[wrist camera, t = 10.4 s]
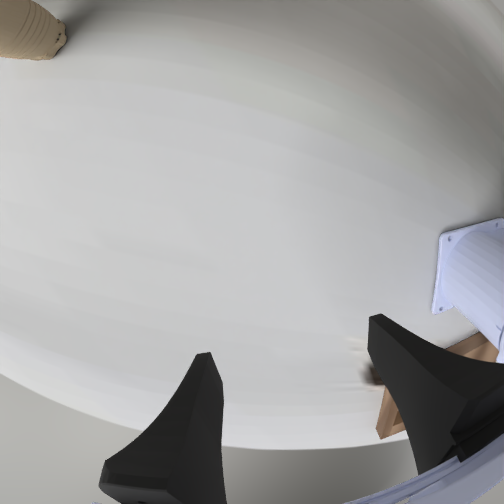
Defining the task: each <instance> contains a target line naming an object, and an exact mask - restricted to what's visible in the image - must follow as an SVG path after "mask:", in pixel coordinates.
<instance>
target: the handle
mask: <svg viewBox="0 0 504 504" xmlns="http://www.w3.org/2000/svg"><path fill="white" fill-rule="evenodd" d="M65 28H66V26H65V25H64V24H63V23H62V22H61V21H60V20H59V19H57V20H56V18H55V17H54V16H53V15H52V14H51V13H50V12H48V11H47V10H46V9H45V8H43V7H42V6H40V5H39V4H37V3H35V2H34V1H31V0H0V57H5V58H13V59H30V60H42V59H45V60H50V59H51V58H53V57H54V56H55V54H56V52H57V51H58V50H59V49H60V47H62V46H63V45H64V44H65V42H66V39H67V37H66V36H65Z"/></svg>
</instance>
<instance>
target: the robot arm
mask: <svg viewBox="0 0 504 504" xmlns="http://www.w3.org/2000/svg"><path fill="white" fill-rule="evenodd" d="M449 236H450V237H449ZM448 237H449V239H448ZM453 307H456V308H457V309H458V310H459V311H460V312H461V313H462V314H463V315H464V316H465V317H466V318H467V319H468V320H469V321H470V322H471V323H472V324H473V325H474V326H475V327H476V328H477V329H478V330H479V331H480V332H481V333H482V334H483V335H484V336H485V337H486V338H487V339H488V340H489V341H490V342H491V343H492V344H493V345H494V346H495V347H496V348H497V349H498V350H499V354H498V356H497V358H496V361H497V362H498V363H495V362H487V361H482V360H477V359H472V358H468V357H465V356H462V355H459V354H456V353H453V352H450V351H448V350H445V349H443V348H440V347H438V346H436V345H434V344H432V343H430V342H428V341H426V340H424V339H422V338H420V337H419V336H417V335H415V334H413V333H412V332H410V331H408V330H407V329H405V328H403V327H402V326H400V325H399V324H397V323H396V322H394V321H392V320H391V319H389V318H388V317H386V316H385V315H383V314H377V315H374V316H371V317H369V332H368V349H367V350H368V352H369V355H370V357H371V360H372V362H373V364H374V367H375V369H376V370H377V372H378V374H379V376H380V377H381V379H382V381H383V383H384V384H385V386H386V388H387V389H388V391H389V393H390V395H391V396H392V398H393V400H394V402H395V404H396V406H397V408H398V410H399V413H400V415H401V418H402V420H403V423H404V426H405V428H406V431H407V434H408V437H409V440H410V443H411V447H412V450H413V454H414V458H415V461H416V466H417V470H418V475H419V476H417V477H414V478H412V479H410V480H408V481H405V482H403V483H401V484H398V485H396V486H394V487H391V488H388V489H386V490H383V491H381V492H378V493H375V494H372V495H370V496H366V497H364V498H360V499H357V500H354V501H351V502H347V503H344V504H395V503H397V502H399V501H402V500H404V499H406V498H408V497H410V498H409V501H408V502H407V503H404V504H470V503H471V502H473V501H474V500H475V499H477V498H479V497H480V496H481V495H483V494H484V493H486V492H487V491H488V490H490V489H491V488H492V487H494V486H495V485H496V484H497V483H499V482H500V481H501V480H503V479H504V219H503V218H497V219H493V220H490V221H486V222H482V223H479V224H475V225H471V226H467V227H464V228H460V229H456V230H452V231H448V232H445V233H442V234H441V236H440V239H439V252H438V264H437V274H436V283H435V291H434V298H433V304H432V313H433V314H435V315H436V314H439V313H441V312H444V311H446V310H448V309H451V308H453ZM223 407H224V397H223V382H222V380H221V377H220V375H219V372H218V370H217V368H216V365H215V363H214V360H213V358H212V355H211V353H210V352H207V353H201V354H197V355H196V356H195V358H194V360H193V362H192V364H191V366H190V368H189V370H188V371H187V373H186V375H185V377H184V379H183V380H182V382H181V384H180V385H179V387H178V389H177V390H176V392H175V393H174V395H173V396H172V398H171V399H170V401H169V402H168V404H167V405H166V407H165V408H164V409H163V410H162V412H161V413H160V414H159V415H158V417H157V418H156V419H155V420H154V421H153V422H152V423H151V424H150V426H149V427H148V428H147V429H146V430H145V431H144V432H143V433H142V434H141V435H139V437H137V438H136V439H135V440H134V441H133V442H131V443H130V444H129V445H127V446H126V447H125V448H124V449H122V450H121V451H119V452H118V453H116V454H115V455H113V456H112V457H110V458H109V459H107V460H105V463H104V466H103V469H102V473H101V477H100V482H99V488H100V489H101V490H102V491H103V492H104V493H105V494H107V495H108V496H110V497H112V498H113V499H115V500H116V501H118V502H120V503H121V504H227V501H226V494H225V487H224V478H223V467H222V453H221V439H222V423H223ZM413 495H414V496H413ZM411 496H412V497H411ZM92 504H99V503H95V502H92Z"/></svg>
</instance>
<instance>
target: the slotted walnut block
mask: <svg viewBox="0 0 504 504" xmlns="http://www.w3.org/2000/svg"><path fill="white" fill-rule="evenodd" d="M445 350H448V351H450V352H453V353H456V354H459V355H462V356H465V357H468V358H472V359H477V360H482V361H487V362H496V358H497V356H498V354H499V350H498V349H497V348H496V347H495V346H494V345H493V344H492V343H491V342H490V341H489V340H488V339H487V338H486V337H485V336H484V335H483V334H482V333H481V332H479V333H477V334H475V335H473V336H471V337H469V338H467V339H465V340H463V341H461V342H459V343H457V344H455V345H453V346H451V347H449V348H447V349H445ZM376 430H377V432H378V435H379V437H380V439H383V438H386V437H389V436H391V435H394V434H396V433H399V432H401V431H404V430H406V428H405V426H404V423H403V420H402V418H401V415H400V413H399V411H398V408H397V406H396V404H395V402H394V400H393V398H392V396H391V395H390V393H389V391H388V389H387V388H386V386H385V391H384V396H383V401H382V405H381V410H380V414H379V418H378V422H377V426H376Z"/></svg>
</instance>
